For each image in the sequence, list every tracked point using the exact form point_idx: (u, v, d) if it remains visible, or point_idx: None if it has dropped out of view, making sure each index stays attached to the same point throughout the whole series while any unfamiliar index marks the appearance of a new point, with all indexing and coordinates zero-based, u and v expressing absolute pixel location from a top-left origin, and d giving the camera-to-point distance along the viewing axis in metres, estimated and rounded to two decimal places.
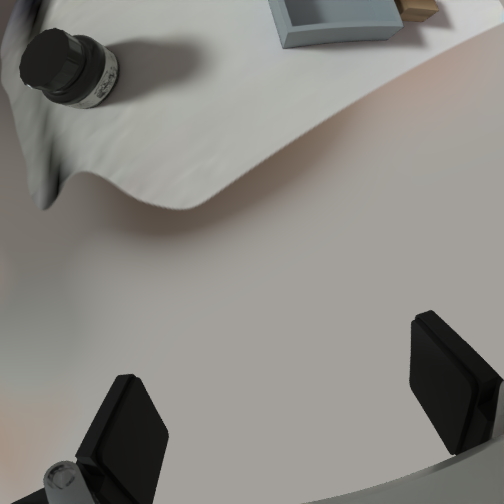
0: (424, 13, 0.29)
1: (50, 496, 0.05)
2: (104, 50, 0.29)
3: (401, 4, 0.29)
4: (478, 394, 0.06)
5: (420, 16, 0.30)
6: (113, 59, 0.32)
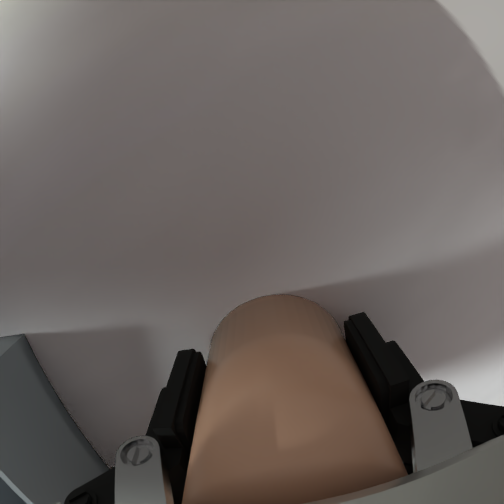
0: None
1: (118, 470, 0.06)
2: None
3: None
4: (389, 396, 0.07)
5: None
6: None
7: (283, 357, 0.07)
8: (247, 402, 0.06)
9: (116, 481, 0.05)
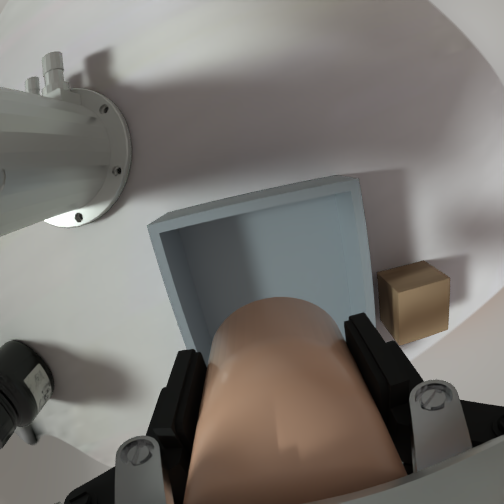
0: None
1: (119, 471, 0.06)
2: (28, 384, 0.27)
3: (393, 327, 0.26)
4: (389, 396, 0.07)
5: None
6: (41, 377, 0.29)
7: (284, 360, 0.07)
8: (249, 405, 0.06)
9: (116, 481, 0.05)
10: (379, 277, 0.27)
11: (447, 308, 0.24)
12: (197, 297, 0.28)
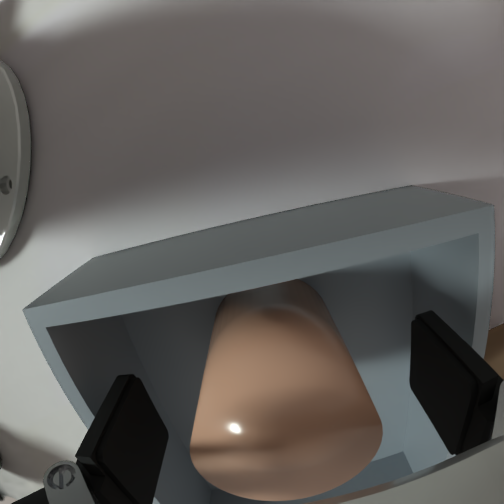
0: None
1: (50, 496, 0.05)
2: None
3: None
4: (478, 394, 0.06)
5: None
6: None
7: (274, 317, 0.09)
8: (246, 348, 0.08)
9: None
10: None
11: None
12: (158, 397, 0.15)
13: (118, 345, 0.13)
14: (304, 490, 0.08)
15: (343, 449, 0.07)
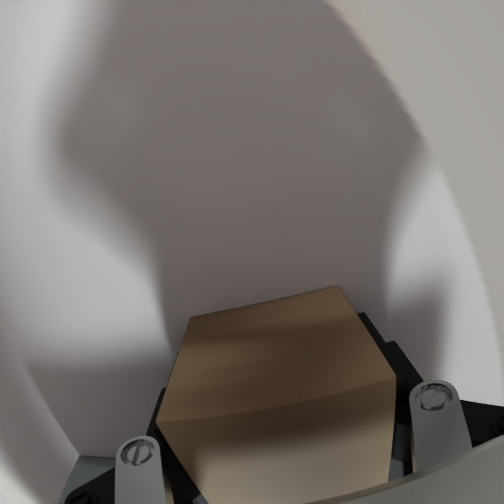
0: None
1: (119, 471, 0.06)
2: None
3: None
4: None
5: None
6: None
7: None
8: None
9: (116, 481, 0.05)
10: None
11: (291, 410, 0.06)
12: None
13: None
14: None
15: None
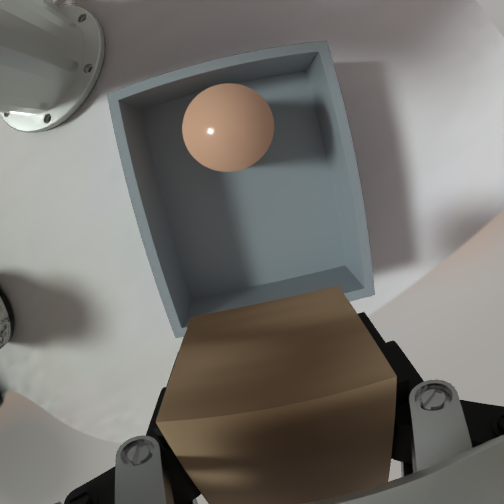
0: None
1: (119, 470, 0.06)
2: None
3: None
4: None
5: None
6: None
7: None
8: None
9: (116, 481, 0.05)
10: None
11: (291, 410, 0.06)
12: (161, 193, 0.24)
13: (144, 143, 0.22)
14: (239, 160, 0.17)
15: (254, 124, 0.17)
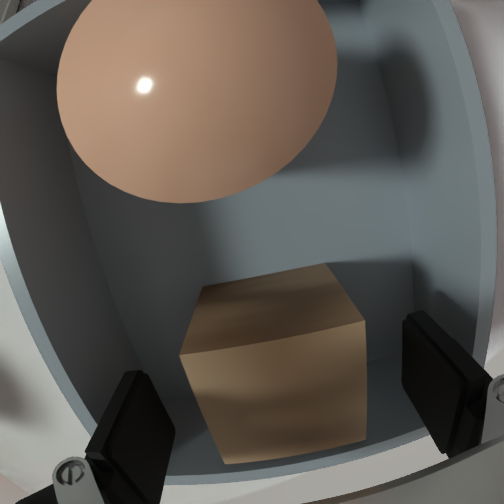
0: None
1: (58, 492, 0.05)
2: None
3: None
4: (467, 393, 0.06)
5: None
6: None
7: None
8: None
9: (59, 502, 0.05)
10: None
11: (284, 344, 0.08)
12: (89, 228, 0.12)
13: (51, 135, 0.10)
14: (222, 163, 0.05)
15: (273, 47, 0.05)
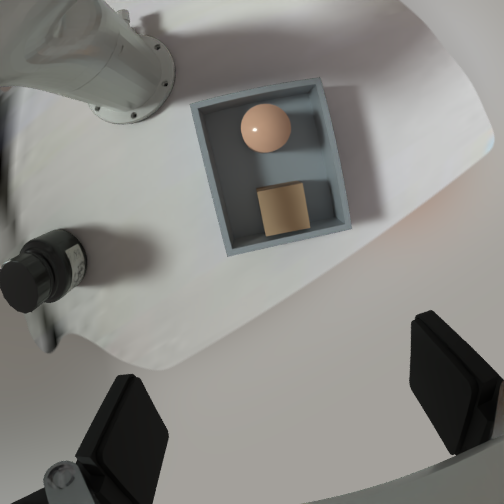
0: None
1: (50, 496, 0.05)
2: (68, 255, 0.37)
3: None
4: (478, 394, 0.06)
5: None
6: (78, 254, 0.40)
7: None
8: None
9: None
10: None
11: (283, 188, 0.35)
12: (216, 168, 0.39)
13: (207, 135, 0.36)
14: (272, 145, 0.31)
15: (280, 126, 0.31)
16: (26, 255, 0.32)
